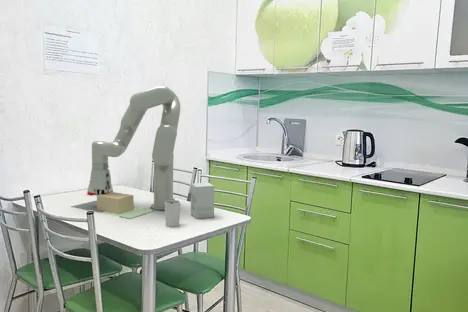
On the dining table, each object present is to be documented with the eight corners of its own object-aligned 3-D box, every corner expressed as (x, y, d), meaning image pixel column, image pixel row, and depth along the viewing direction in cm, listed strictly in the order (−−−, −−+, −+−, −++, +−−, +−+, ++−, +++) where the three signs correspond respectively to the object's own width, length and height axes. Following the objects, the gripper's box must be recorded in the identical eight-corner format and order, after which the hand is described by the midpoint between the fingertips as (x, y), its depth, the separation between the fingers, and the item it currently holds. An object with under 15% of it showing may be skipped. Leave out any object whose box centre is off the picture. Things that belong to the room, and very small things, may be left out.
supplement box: (208, 212, 196) (208, 182, 195) (214, 217, 188) (214, 185, 186) (190, 214, 193) (190, 183, 191) (195, 219, 185) (195, 186, 183)
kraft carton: (133, 209, 198) (133, 195, 197) (118, 213, 189) (118, 199, 188) (112, 205, 205) (112, 191, 204) (96, 209, 196) (96, 195, 195)
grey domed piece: (89, 191, 240) (89, 166, 239) (114, 190, 243) (113, 165, 241) (85, 196, 227) (85, 169, 225) (111, 195, 229) (110, 169, 228)
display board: (153, 211, 196) (153, 210, 196) (130, 219, 182) (130, 218, 182) (95, 201, 215) (95, 200, 215) (70, 207, 201) (70, 206, 201)
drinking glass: (161, 224, 174) (161, 202, 173) (171, 221, 180) (172, 199, 179) (172, 227, 171) (173, 204, 170) (183, 224, 176) (183, 201, 175)
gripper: (117, 167, 199) (117, 203, 201) (95, 164, 206) (95, 199, 208) (105, 168, 193) (105, 206, 195) (83, 165, 200) (83, 202, 202)
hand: (100, 203), depth 201 cm, fingers closed
